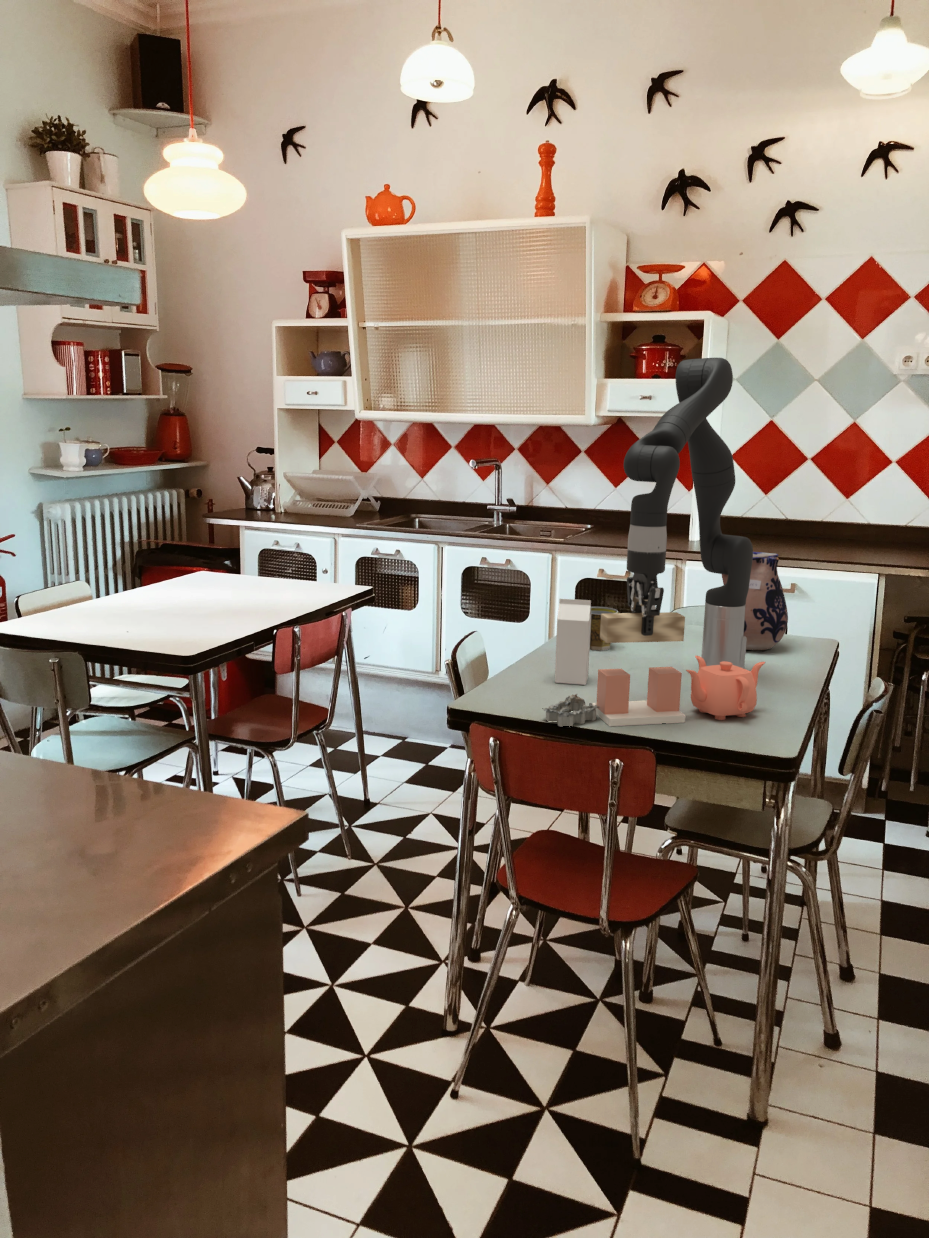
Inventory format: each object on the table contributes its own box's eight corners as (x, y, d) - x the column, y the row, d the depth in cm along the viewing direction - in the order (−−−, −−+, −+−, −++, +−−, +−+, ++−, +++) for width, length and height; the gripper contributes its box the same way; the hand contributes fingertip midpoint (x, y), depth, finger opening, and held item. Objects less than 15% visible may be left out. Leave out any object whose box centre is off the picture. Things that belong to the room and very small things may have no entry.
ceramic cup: (624, 649, 257) (626, 611, 255) (595, 653, 252) (597, 615, 250) (591, 639, 268) (592, 603, 266) (563, 643, 262) (564, 606, 260)
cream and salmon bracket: (663, 706, 208) (665, 662, 206) (684, 722, 197) (688, 676, 195) (591, 709, 205) (593, 665, 203) (609, 726, 194) (611, 680, 192)
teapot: (682, 719, 200) (685, 666, 198) (692, 700, 213) (695, 651, 211) (756, 728, 195) (760, 674, 192) (761, 708, 208) (766, 658, 206)
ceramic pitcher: (759, 658, 250) (767, 561, 245) (692, 642, 266) (699, 551, 261) (798, 649, 261) (807, 555, 255) (732, 634, 277) (739, 546, 271)
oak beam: (675, 636, 201) (676, 612, 200) (683, 641, 197) (685, 616, 196) (599, 637, 198) (601, 613, 197) (606, 642, 194) (607, 618, 193)
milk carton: (585, 685, 223) (589, 603, 219) (554, 683, 224) (557, 601, 220) (588, 677, 230) (592, 597, 225) (558, 675, 231) (561, 595, 227)
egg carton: (576, 711, 204) (577, 692, 204) (602, 720, 199) (603, 701, 198) (538, 720, 198) (539, 700, 197) (564, 730, 192) (565, 710, 191)
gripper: (679, 553, 188) (674, 640, 191) (650, 543, 201) (646, 624, 205) (642, 553, 186) (637, 641, 190) (616, 543, 200) (611, 625, 203)
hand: (642, 631), depth 197 cm, fingers closed on oak beam, 4 cm apart
